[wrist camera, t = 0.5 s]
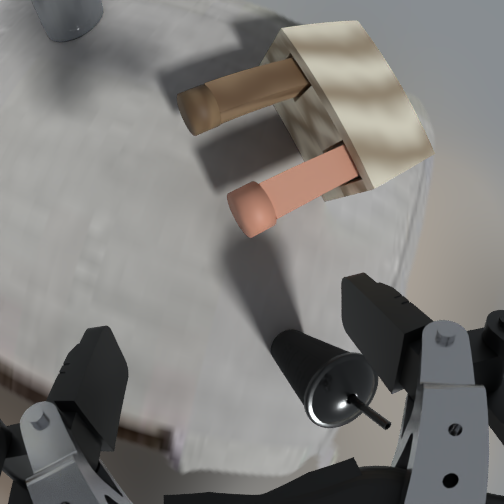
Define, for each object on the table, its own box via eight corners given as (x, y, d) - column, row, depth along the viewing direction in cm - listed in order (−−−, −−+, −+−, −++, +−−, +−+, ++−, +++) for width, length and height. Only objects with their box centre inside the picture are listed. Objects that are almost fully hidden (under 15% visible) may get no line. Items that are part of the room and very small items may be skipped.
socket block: (254, 73, 34) (281, 28, 24) (322, 57, 37) (357, 20, 27) (324, 201, 37) (374, 189, 27) (384, 169, 40) (434, 153, 30)
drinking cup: (247, 345, 35) (325, 437, 16) (296, 306, 37) (409, 359, 17) (280, 385, 36) (365, 478, 17) (325, 348, 38) (432, 413, 19)
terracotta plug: (223, 197, 29) (232, 189, 25) (346, 140, 33) (368, 128, 28) (245, 238, 30) (258, 237, 25) (363, 174, 33) (387, 166, 29)
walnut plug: (176, 106, 28) (177, 85, 23) (302, 65, 31) (318, 46, 27) (194, 142, 28) (199, 125, 24) (320, 95, 32) (339, 78, 27)
